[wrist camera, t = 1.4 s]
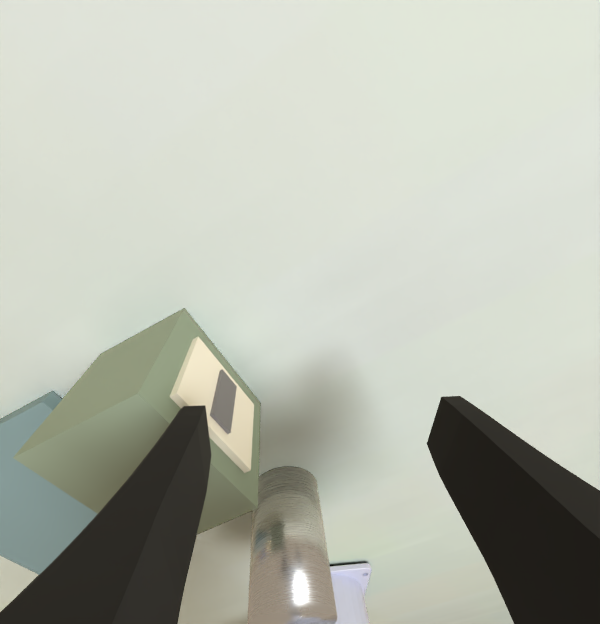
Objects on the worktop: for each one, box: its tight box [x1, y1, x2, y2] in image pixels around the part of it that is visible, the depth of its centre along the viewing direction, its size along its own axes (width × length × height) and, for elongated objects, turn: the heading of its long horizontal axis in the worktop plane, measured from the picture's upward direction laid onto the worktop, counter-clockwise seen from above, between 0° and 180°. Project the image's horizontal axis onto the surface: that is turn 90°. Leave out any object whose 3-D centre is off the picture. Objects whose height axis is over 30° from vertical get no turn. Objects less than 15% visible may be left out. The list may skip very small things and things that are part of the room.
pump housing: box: [13, 308, 261, 534], centre depth 14 cm, size 5×7×6 cm
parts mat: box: [0, 391, 97, 574], centre depth 19 cm, size 12×12×1 cm
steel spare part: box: [248, 467, 337, 624], centre depth 18 cm, size 4×4×7 cm
